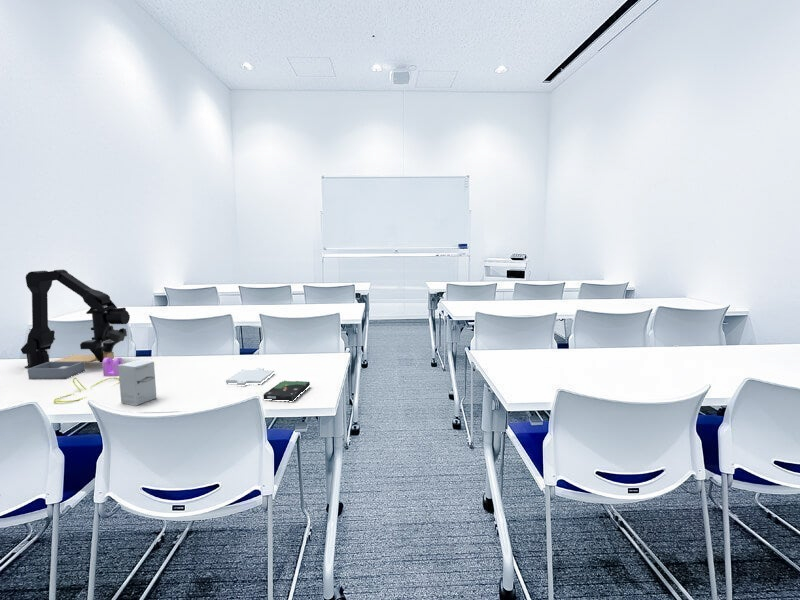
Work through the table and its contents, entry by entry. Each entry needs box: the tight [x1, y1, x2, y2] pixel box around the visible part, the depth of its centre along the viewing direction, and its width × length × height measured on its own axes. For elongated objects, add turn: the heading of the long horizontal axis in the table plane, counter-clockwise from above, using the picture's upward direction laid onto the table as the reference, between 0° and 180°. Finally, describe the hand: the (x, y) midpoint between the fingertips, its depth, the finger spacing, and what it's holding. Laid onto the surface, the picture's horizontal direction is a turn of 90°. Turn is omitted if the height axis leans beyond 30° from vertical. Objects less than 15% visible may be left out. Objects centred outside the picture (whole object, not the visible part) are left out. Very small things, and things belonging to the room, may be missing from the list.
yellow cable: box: [53, 376, 120, 403], centre depth 151 cm, size 25×10×5 cm, turn 173°
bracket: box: [101, 357, 124, 377], centre depth 173 cm, size 13×6×7 cm, turn 176°
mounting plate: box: [225, 367, 275, 386], centre depth 163 cm, size 18×13×2 cm
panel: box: [27, 361, 86, 380], centre depth 168 cm, size 14×10×4 cm
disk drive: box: [263, 380, 311, 401], centre depth 147 cm, size 10×3×15 cm
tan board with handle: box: [53, 351, 115, 364], centre depth 181 cm, size 20×11×3 cm, turn 90°
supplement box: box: [118, 359, 157, 407], centre depth 140 cm, size 7×7×13 cm
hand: (104, 360), depth 181 cm, fingers closed on tan board with handle, 4 cm apart
